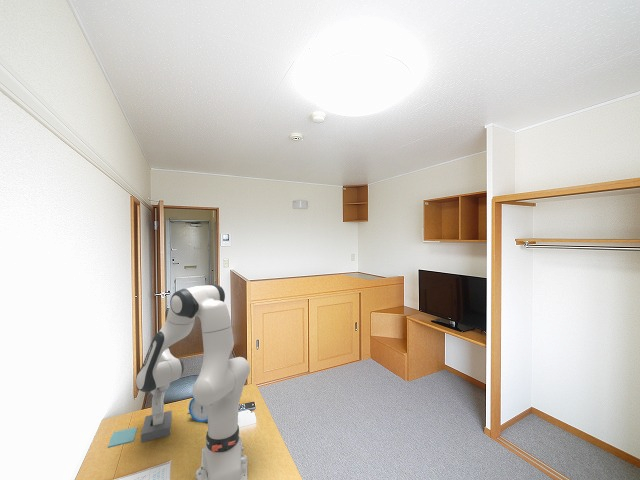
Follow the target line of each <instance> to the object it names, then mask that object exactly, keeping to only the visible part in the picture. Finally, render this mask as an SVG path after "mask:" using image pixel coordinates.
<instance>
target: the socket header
mask: <svg viewBox="0 0 640 480" xmlns="http://www.w3.org/2000/svg"><path fill="white" fill-rule="evenodd" d="M172 415H173V410H167V411H164V423H163V424H158V425H154V426H153V415H152V414H150V415H149V414H148V415H145V417H144V421H143V424H142V425H143V426H142V429H141V434H140V443H145V442H149V441H152V440H156V439H161V438H165V437H170V436H171V428H172V417H173V416H172Z"/></svg>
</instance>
